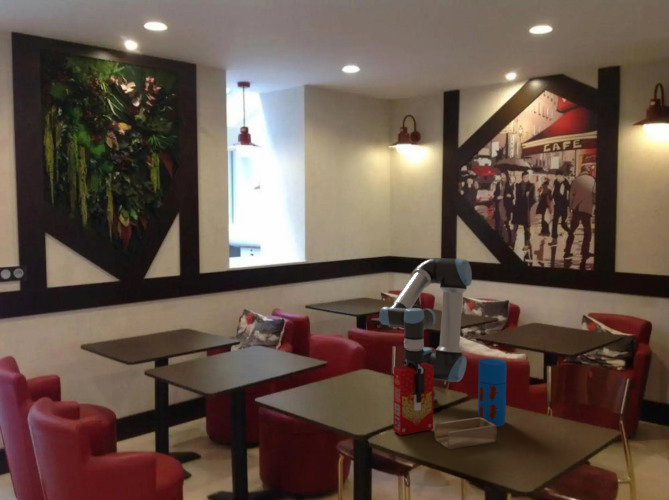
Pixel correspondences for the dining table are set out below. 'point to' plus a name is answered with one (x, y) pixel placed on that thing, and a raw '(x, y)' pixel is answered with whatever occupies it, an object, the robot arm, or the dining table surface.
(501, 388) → the thermos
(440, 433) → the u rest
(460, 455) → the dining table surface
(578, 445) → the dining table surface
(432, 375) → the food packaging
